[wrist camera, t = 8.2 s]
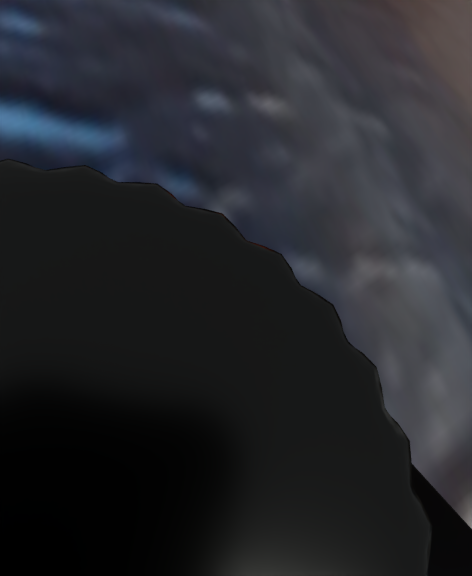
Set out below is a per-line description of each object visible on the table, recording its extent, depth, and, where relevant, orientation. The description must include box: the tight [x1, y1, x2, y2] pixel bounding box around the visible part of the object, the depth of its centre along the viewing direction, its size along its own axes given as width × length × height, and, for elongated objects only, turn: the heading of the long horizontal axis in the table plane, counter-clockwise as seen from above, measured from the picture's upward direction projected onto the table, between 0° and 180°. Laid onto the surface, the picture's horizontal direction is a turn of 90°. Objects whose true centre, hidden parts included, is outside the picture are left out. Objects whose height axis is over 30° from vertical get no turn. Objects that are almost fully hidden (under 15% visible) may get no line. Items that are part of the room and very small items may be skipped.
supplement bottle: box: [0, 159, 432, 576], centre depth 8 cm, size 7×7×12 cm
